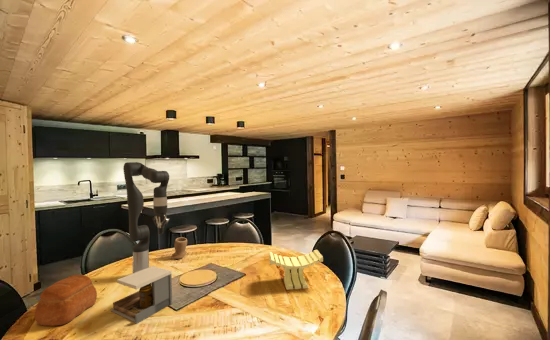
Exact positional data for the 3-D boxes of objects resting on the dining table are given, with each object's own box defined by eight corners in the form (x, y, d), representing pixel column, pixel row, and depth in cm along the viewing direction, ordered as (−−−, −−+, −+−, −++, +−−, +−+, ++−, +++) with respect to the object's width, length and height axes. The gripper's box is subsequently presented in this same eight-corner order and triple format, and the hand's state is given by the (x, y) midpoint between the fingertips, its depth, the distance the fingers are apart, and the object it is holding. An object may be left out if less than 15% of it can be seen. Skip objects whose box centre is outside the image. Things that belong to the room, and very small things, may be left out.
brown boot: (185, 259, 200) (184, 240, 200) (169, 260, 200) (168, 240, 199) (190, 253, 215) (190, 235, 215) (176, 253, 215) (175, 235, 214)
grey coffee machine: (109, 311, 129) (108, 276, 129) (145, 294, 146) (144, 263, 146) (137, 324, 119) (136, 286, 118) (172, 304, 135) (171, 270, 135)
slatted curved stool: (316, 275, 167) (315, 248, 167) (323, 287, 151) (322, 256, 151) (269, 278, 164) (269, 250, 164) (272, 290, 148) (271, 259, 148)
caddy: (113, 309, 131) (113, 302, 131) (142, 295, 145) (142, 289, 145) (137, 320, 121) (137, 313, 121) (167, 304, 135) (166, 297, 135)
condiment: (156, 304, 136) (155, 281, 135) (140, 312, 128) (140, 288, 128) (147, 300, 139) (147, 278, 139) (132, 308, 132) (131, 285, 132)
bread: (30, 327, 118) (28, 290, 118) (69, 302, 140) (68, 271, 139) (67, 327, 117) (65, 290, 117) (101, 302, 139) (100, 271, 138)
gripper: (147, 204, 154) (148, 234, 154) (162, 206, 147) (163, 236, 148) (158, 203, 160) (159, 231, 161) (173, 204, 154) (174, 233, 154)
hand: (161, 233), depth 154 cm, fingers closed
